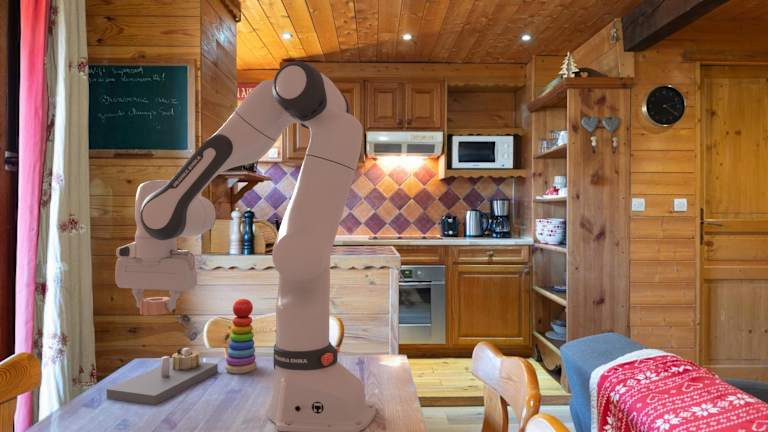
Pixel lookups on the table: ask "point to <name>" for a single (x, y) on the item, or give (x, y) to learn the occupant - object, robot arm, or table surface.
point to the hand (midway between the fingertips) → (156, 308)
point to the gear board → (160, 382)
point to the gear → (185, 360)
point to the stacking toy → (241, 340)
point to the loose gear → (154, 306)
